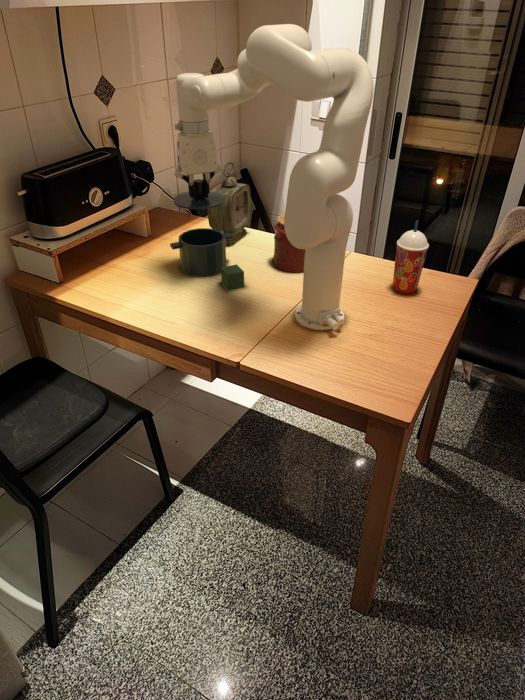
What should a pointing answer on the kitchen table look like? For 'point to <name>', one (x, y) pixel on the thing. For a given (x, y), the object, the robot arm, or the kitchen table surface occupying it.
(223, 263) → the pot
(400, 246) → the smoothie
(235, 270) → the block
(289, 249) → the kitchen canister
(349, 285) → the kitchen table surface
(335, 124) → the robot arm
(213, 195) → the lid
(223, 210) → the tabletop clock
